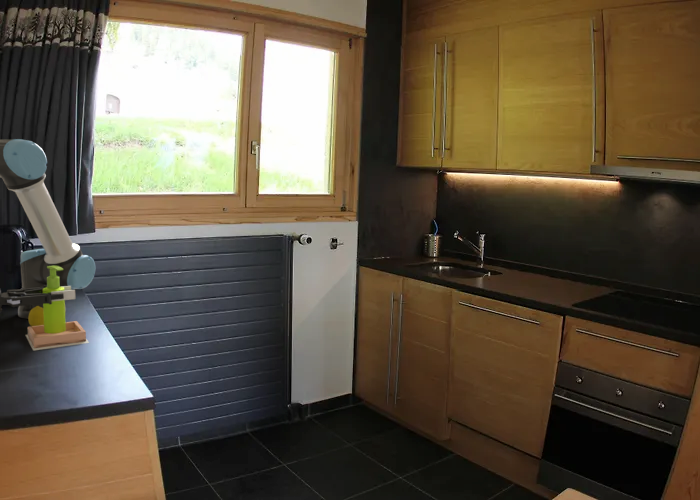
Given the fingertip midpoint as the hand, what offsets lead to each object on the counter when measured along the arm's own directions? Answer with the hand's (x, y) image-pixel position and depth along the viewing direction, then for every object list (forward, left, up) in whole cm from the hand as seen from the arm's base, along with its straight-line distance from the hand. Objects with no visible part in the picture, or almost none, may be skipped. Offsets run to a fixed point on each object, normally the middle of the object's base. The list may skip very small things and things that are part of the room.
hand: (72, 292), depth 190 cm
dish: (0, -5, -14) cm, 15 cm away
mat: (0, -5, -14) cm, 15 cm away
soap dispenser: (0, -5, -12) cm, 13 cm away
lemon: (-15, -8, -15) cm, 23 cm away
